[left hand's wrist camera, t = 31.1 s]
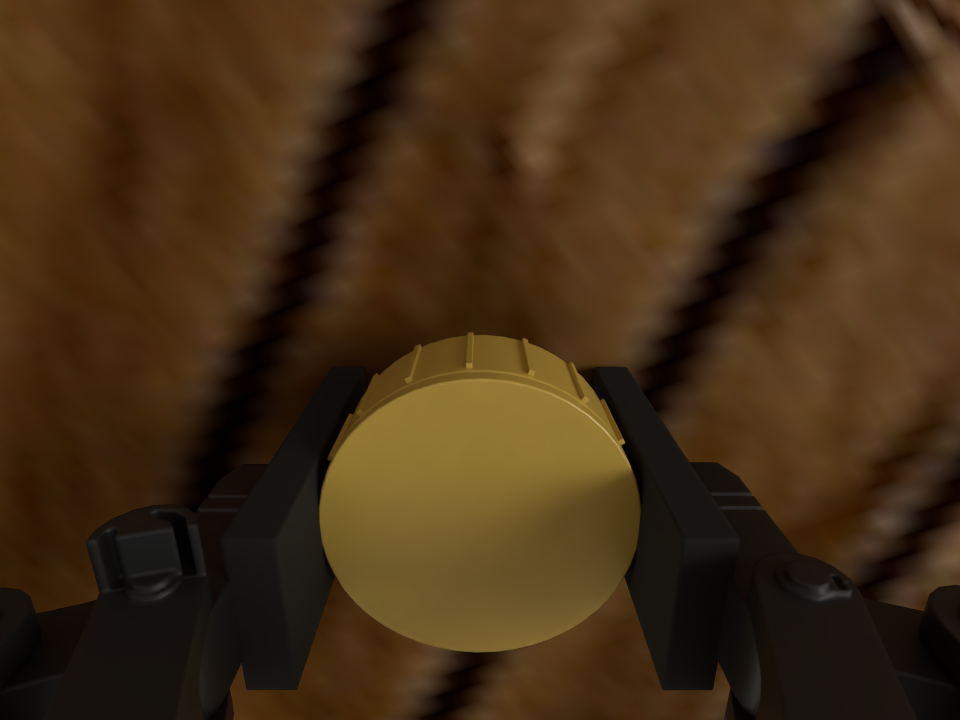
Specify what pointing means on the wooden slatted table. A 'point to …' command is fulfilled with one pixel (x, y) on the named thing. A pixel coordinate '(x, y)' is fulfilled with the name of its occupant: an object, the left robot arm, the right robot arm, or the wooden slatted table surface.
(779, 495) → the wooden slatted table surface
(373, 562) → the lid
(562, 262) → the wooden slatted table surface
